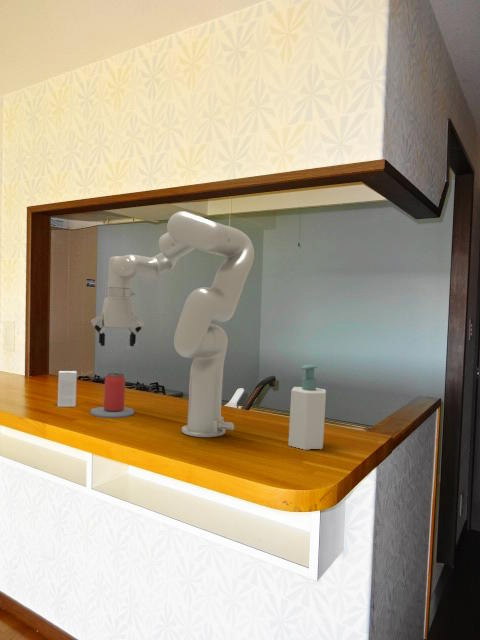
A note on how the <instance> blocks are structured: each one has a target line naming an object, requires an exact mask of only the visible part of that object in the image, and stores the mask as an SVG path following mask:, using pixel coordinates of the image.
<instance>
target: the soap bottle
mask: <svg viewBox="0 0 480 640" xmlns="http://www.w3.org/2000/svg"><path fill="white" fill-rule="evenodd" d="M317 368H318V367H317V365H315V364H304V365H302V366H301V367H300V369H301V370H302V371H303V370H304V371H305V375H304V376H305V377H302V381H301V383H302V384H301V386H293V388H291V391H290V406H289V407H290V410H289V427H288V444H287V445H288V447H291V446H292V448H295V447H296V449H298V448H300V449H299V450H302V449H303V451H311V450H310V449H320V450H322V449H323V447H324V437H325V436H324V435H325V421H326V420H325V417H326V415H325V414H326V397H327V390H326V389H325V388H319V387H317V378H315V369H317Z"/></svg>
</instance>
